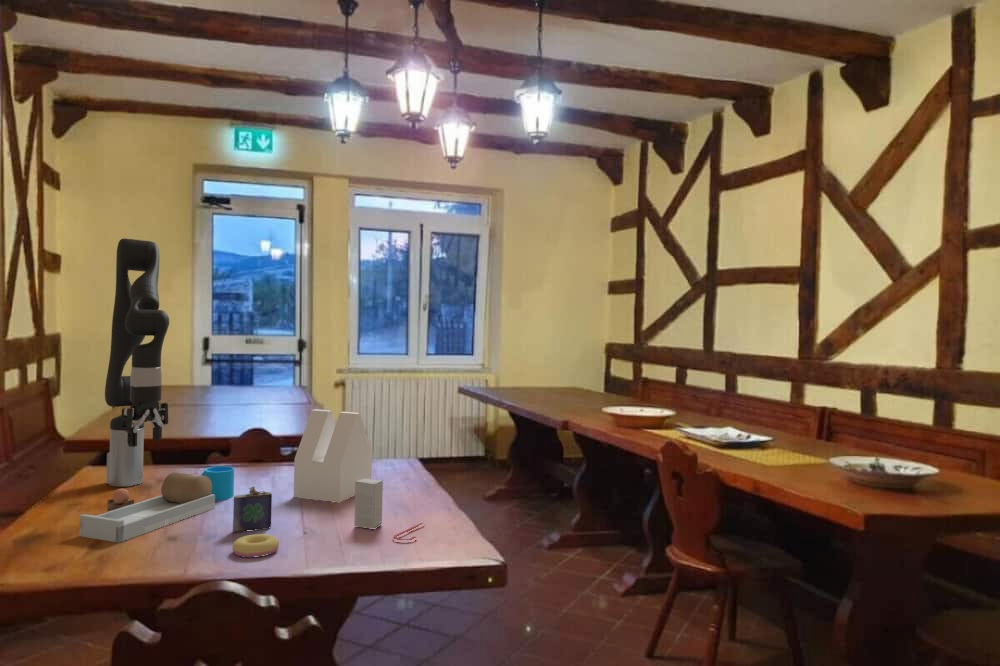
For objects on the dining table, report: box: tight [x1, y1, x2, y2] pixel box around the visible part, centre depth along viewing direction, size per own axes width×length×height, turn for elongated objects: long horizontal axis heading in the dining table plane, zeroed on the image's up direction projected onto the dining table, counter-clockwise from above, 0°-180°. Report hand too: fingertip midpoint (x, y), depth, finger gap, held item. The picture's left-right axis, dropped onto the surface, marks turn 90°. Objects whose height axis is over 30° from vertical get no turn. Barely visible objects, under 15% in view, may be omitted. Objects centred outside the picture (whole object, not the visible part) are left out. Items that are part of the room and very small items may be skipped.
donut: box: [232, 533, 280, 558], centre depth 161 cm, size 10×5×9 cm
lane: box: [79, 471, 216, 544], centre depth 181 cm, size 12×32×10 cm, turn 162°
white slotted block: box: [293, 408, 373, 503], centre depth 215 cm, size 19×15×25 cm
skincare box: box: [353, 478, 384, 528], centre depth 183 cm, size 6×4×12 cm
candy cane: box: [392, 522, 424, 540], centre depth 178 cm, size 6×15×2 cm, turn 154°
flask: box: [232, 486, 273, 533], centre depth 177 cm, size 9×3×11 cm, turn 121°
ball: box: [111, 487, 130, 504], centre depth 188 cm, size 4×4×4 cm
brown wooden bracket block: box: [106, 498, 135, 513], centre depth 188 cm, size 6×3×3 cm, turn 72°
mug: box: [200, 465, 235, 502], centre depth 207 cm, size 12×8×8 cm
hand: (144, 443), depth 190 cm, fingers open, 8 cm apart
